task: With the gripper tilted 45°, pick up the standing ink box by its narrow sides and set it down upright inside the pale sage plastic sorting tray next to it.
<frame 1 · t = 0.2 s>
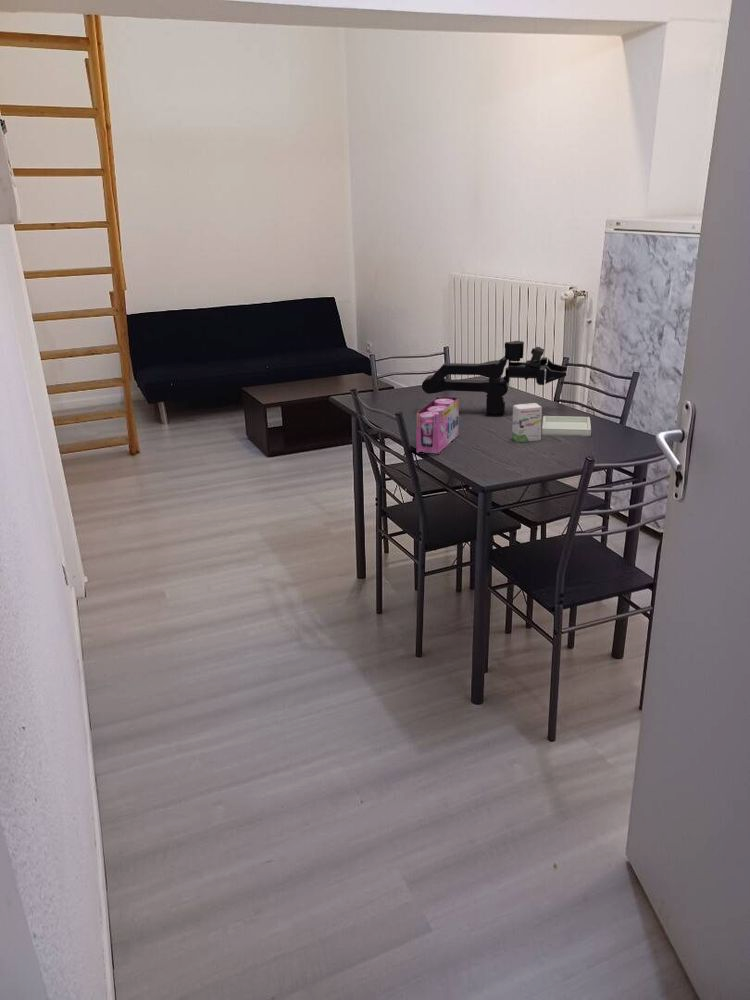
hand: (566, 371, 273), 17 cm above the table, tool horizontal, fingers open, 9 cm apart
gum box: (438, 444, 254), on the table
sorting tray: (566, 429, 263), on the table
ink box: (526, 440, 255), on the table
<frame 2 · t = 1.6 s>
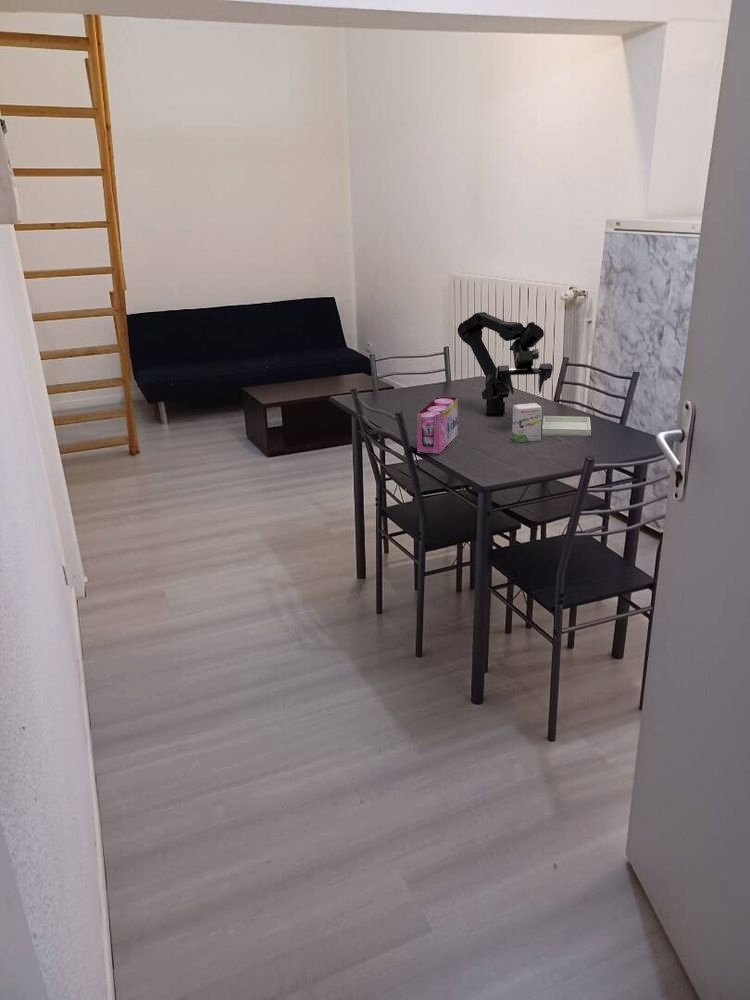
hand: (526, 393, 257), 14 cm above the table, tool tilted 45°, fingers open, 9 cm apart
nothing on the table moved.
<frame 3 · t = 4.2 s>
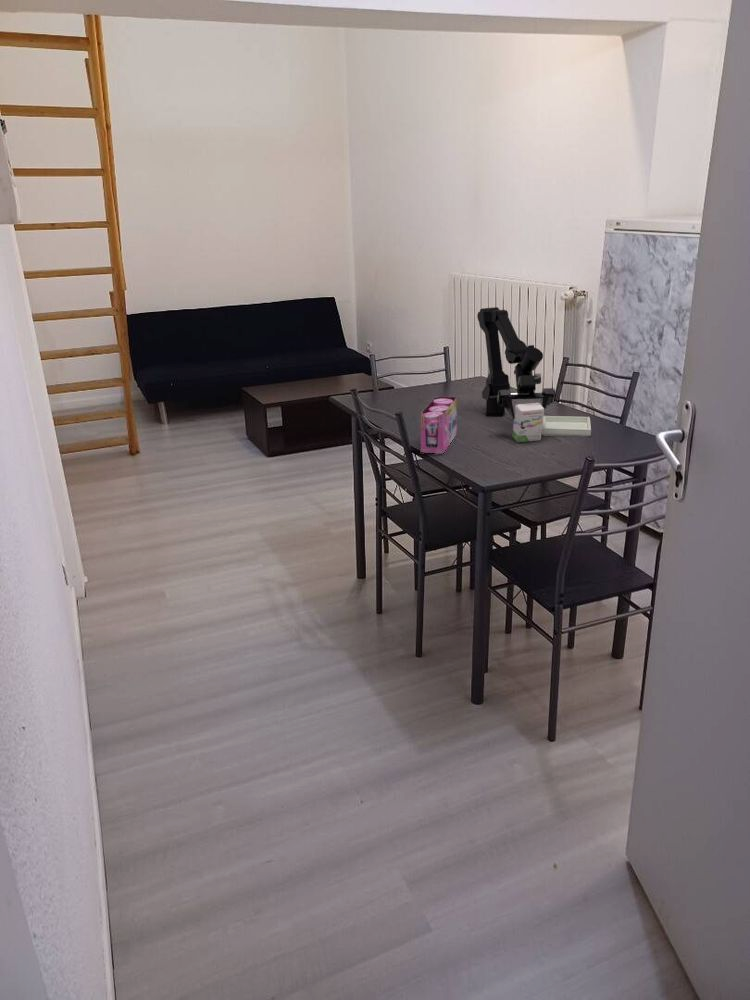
hand: (528, 418, 251), 8 cm above the table, tool tilted 45°, fingers open, 9 cm apart
ink box: (526, 438, 254), on the table, touching gripper
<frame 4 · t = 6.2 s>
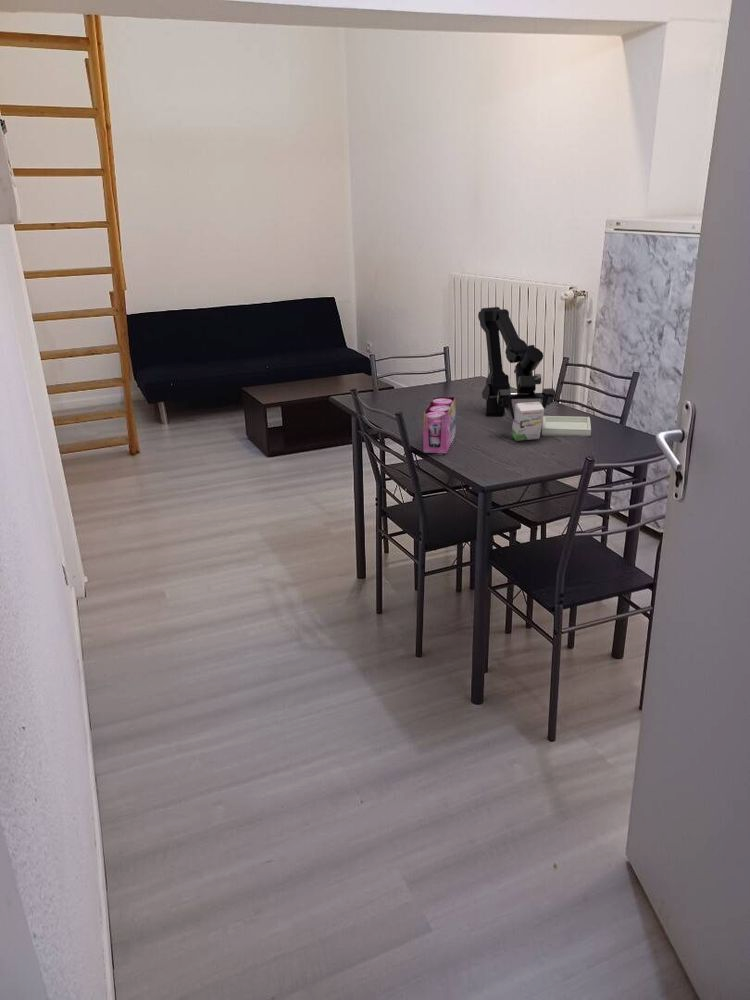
hand: (527, 418, 250), 8 cm above the table, tool tilted 45°, fingers closed on ink box, 9 cm apart
ink box: (525, 436, 255), point 1 cm above the table, touching gripper
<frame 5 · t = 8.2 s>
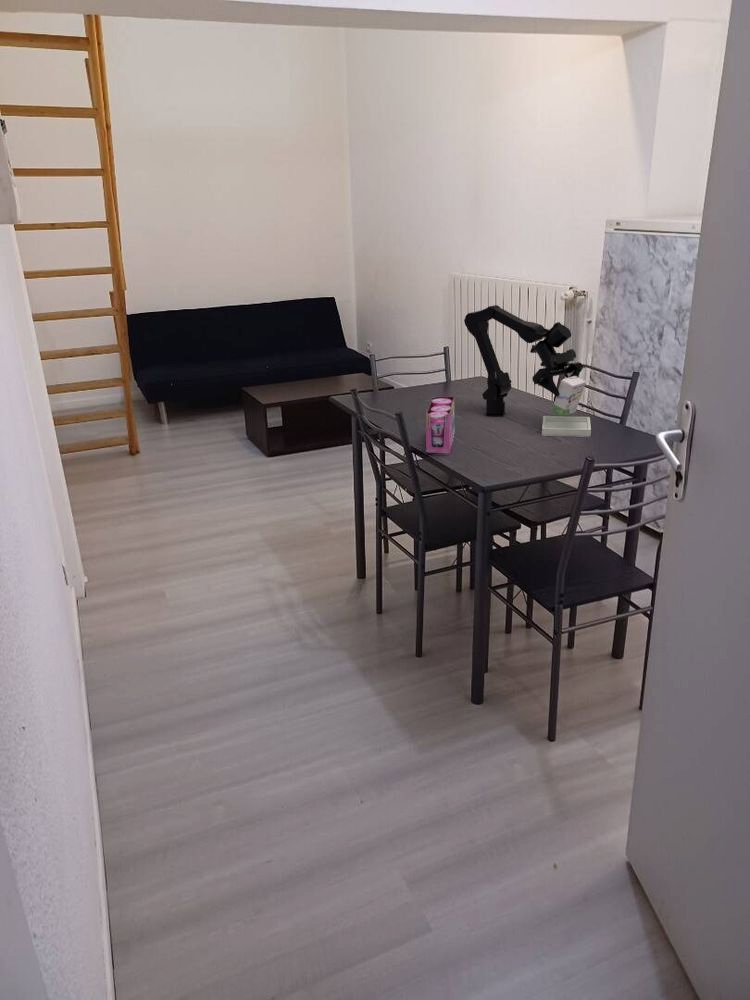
hand: (569, 393, 257), 13 cm above the table, tool tilted 45°, fingers closed on ink box, 9 cm apart
ink box: (563, 411, 260), point 7 cm above the table, touching gripper
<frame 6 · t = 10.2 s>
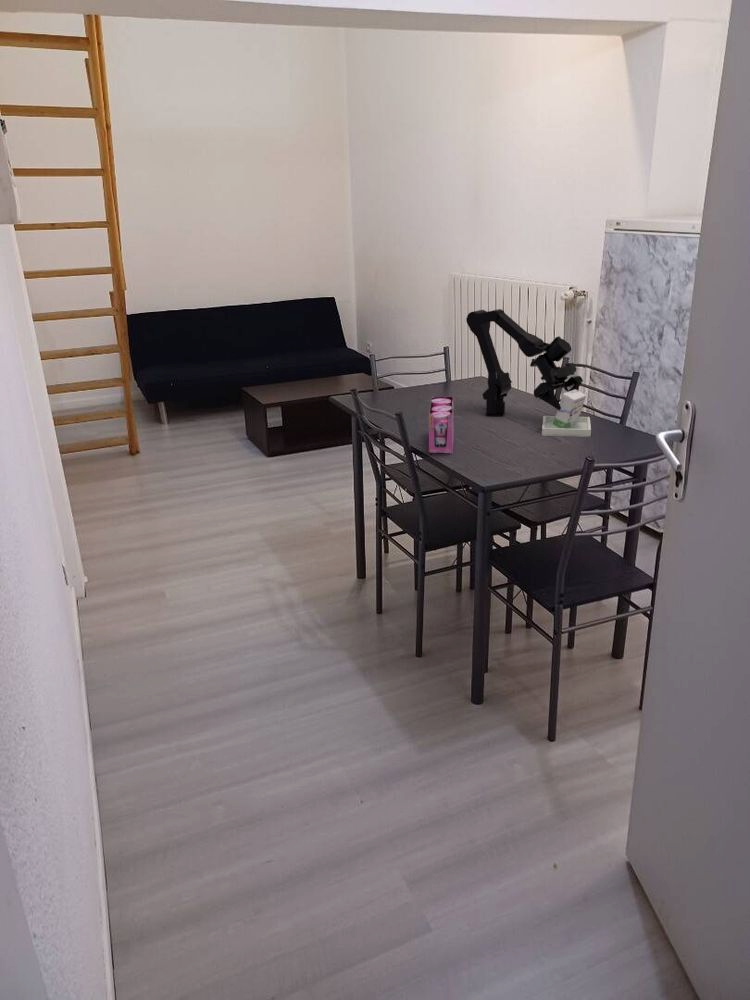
hand: (569, 407, 259), 8 cm above the table, tool tilted 45°, fingers closed on ink box, 9 cm apart
ink box: (564, 425, 263), point 2 cm above the table, touching gripper
when the fingers open (8 cm above the table, at t = 12.0 s): ink box stays where it is, resting on sorting tray.
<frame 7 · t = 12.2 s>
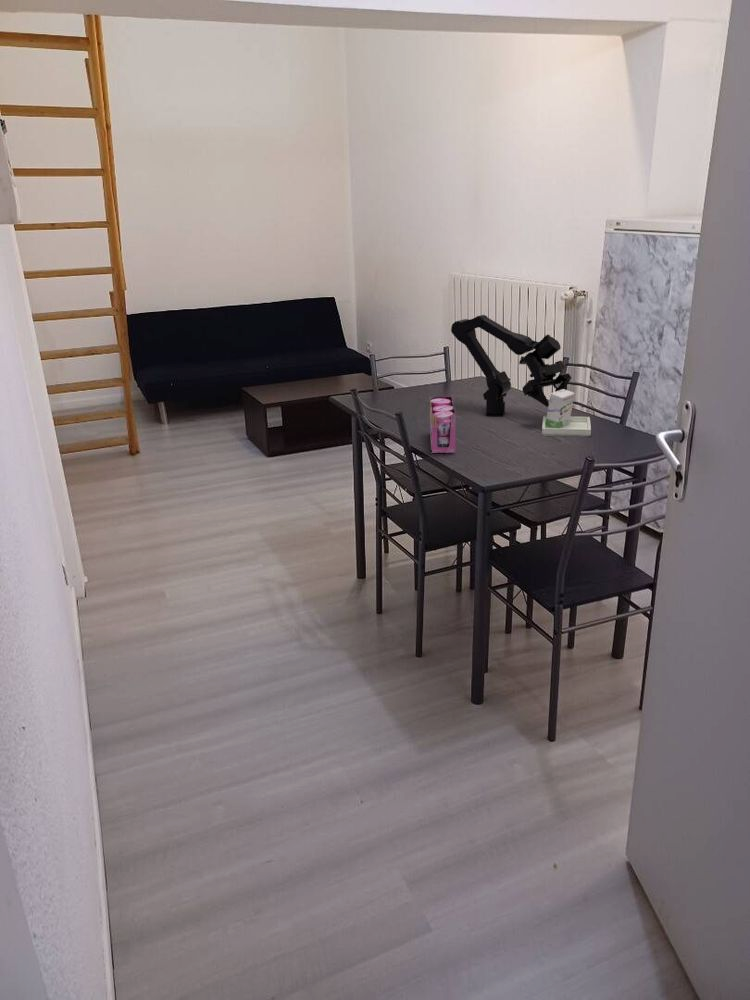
hand: (558, 403, 263), 8 cm above the table, tool tilted 45°, fingers open, 9 cm apart
ink box: (557, 425, 266), point 1 cm above the table, touching gripper, sorting tray
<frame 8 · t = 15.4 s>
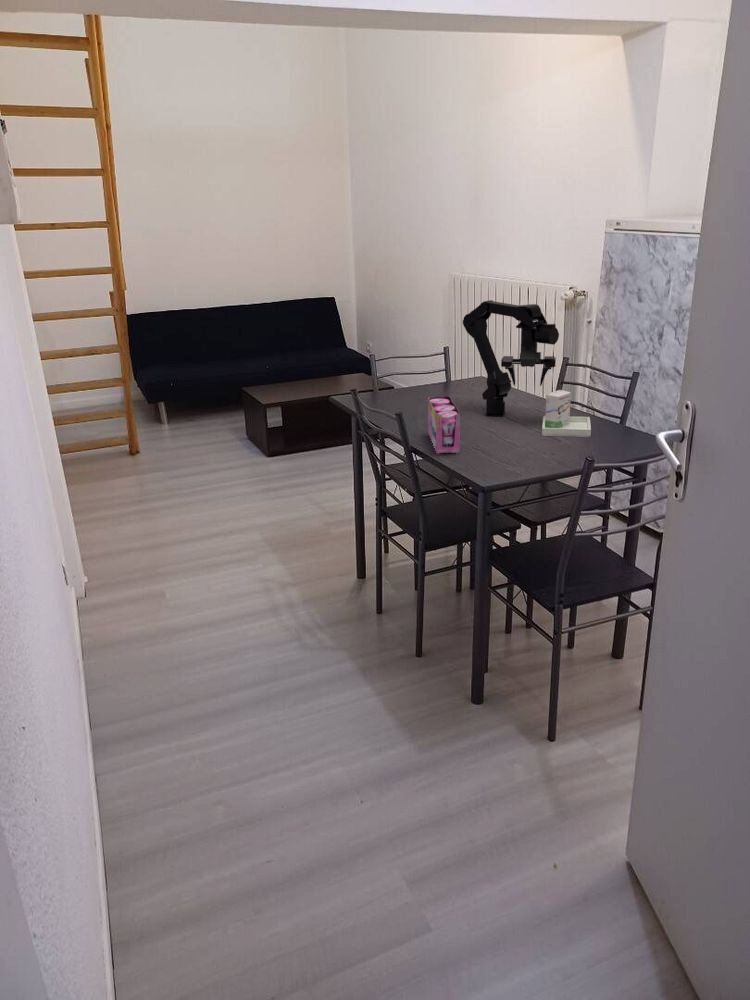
hand: (527, 385, 271), 13 cm above the table, tool pointing down, fingers open, 9 cm apart
ink box: (557, 426, 266), resting on sorting tray
at the end: ink box inside the target area on the sorting tray (4.0 cm from its centre), point 0.4 cm above the sorting tray's base; ink box tilted 0°; the gripper is holding nothing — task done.
